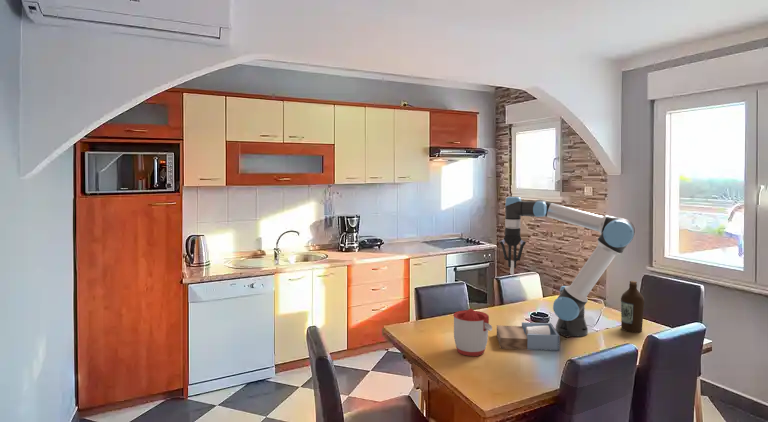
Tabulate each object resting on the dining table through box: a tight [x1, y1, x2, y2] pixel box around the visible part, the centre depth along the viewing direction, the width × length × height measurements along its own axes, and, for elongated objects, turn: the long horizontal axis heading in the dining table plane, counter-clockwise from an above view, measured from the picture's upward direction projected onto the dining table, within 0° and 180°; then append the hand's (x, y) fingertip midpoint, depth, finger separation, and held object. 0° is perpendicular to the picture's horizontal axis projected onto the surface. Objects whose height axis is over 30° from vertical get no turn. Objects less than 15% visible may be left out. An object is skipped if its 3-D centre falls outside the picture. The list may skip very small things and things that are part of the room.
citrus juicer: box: [453, 308, 493, 357], centre depth 212 cm, size 16×17×20 cm
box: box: [521, 321, 561, 352], centre depth 223 cm, size 14×18×7 cm
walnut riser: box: [496, 324, 528, 351], centre depth 225 cm, size 12×18×5 cm, turn 172°
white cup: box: [526, 325, 550, 337], centre depth 223 cm, size 8×8×10 cm
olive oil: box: [620, 280, 645, 333], centre depth 241 cm, size 11×11×25 cm
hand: (512, 273), depth 239 cm, fingers closed
